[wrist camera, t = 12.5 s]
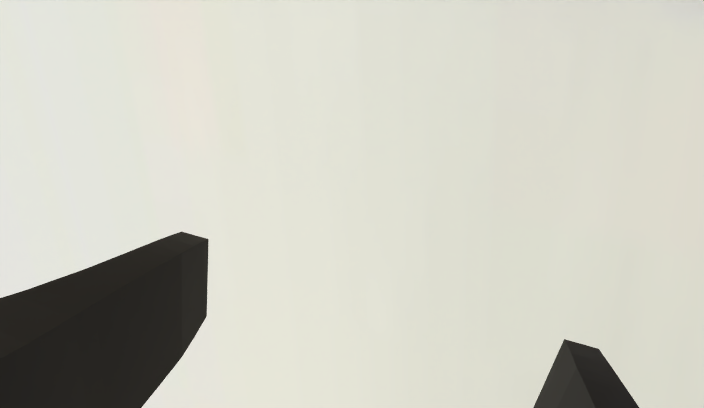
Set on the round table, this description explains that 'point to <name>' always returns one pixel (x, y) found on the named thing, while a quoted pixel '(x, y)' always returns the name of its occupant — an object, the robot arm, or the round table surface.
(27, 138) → the round table surface
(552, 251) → the round table surface
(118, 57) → the round table surface
